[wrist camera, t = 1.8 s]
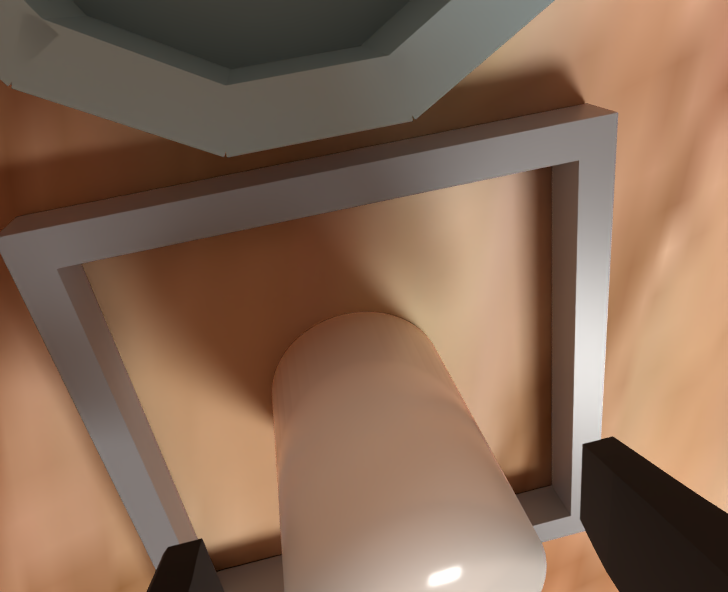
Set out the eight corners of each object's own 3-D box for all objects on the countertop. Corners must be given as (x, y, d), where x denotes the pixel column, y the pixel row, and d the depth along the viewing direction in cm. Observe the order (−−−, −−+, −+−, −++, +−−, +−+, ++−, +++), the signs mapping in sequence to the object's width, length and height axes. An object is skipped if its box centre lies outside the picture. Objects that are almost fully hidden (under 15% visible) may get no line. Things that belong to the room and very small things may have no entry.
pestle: (292, 471, 16) (314, 708, 10) (253, 334, 14) (256, 543, 8) (448, 432, 16) (546, 642, 11) (433, 293, 14) (546, 469, 9)
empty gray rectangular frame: (192, 597, 17) (188, 636, 16) (16, 217, 11) (-7, 238, 10) (575, 497, 18) (596, 527, 17) (586, 103, 12) (618, 112, 11)
